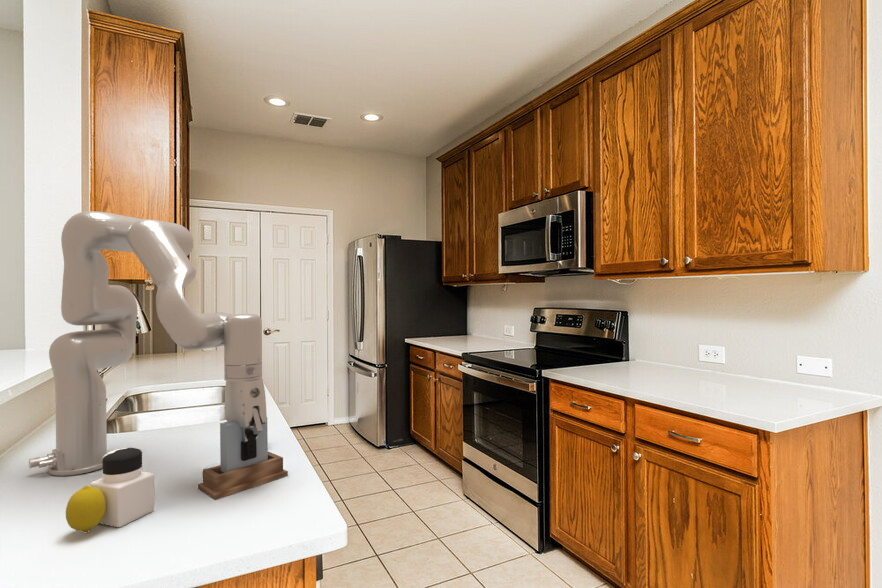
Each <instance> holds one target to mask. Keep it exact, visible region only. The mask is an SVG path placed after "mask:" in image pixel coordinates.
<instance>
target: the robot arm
mask: <svg viewBox="0 0 882 588" xmlns="http://www.w3.org/2000/svg"><path fill="white" fill-rule="evenodd" d="M60 241H61V242H60V243H61V250H62V255H63V257H62V258H63V275H62V288H61V289H62V290H61V301H60V302H61V304H60V305H61V306H60V309H61V317H62V319H63V320H64V321H65V322H66V323H67V324H70V325H72V326H82V327H83V326H97V325H98V326H99V325H101V326H100V328H101V329H90V330H81V331H72V332H68V333H64V334H62V335H60V336H58V337H57V338H56V339H54V341H52V343H50V346H49V348H48V349H49V350H48V356H49V362H50V366H51V370H52V374H53V379H54V381H53V382H54V392H55V393H54V395H55V396H54V397H55V401H54V402H55V448H54V449H52V450H51V453H48V454H46V456H42V457H40V456H39V457H34V458H29V460H28V467H29V469H31V468H36V467H38V468H39V469H40V468H45V467H47V468H46V470H47V474H49V475H52V476H60V477H61V476H62V477H63V476H64V477H65V476H76V475H81V474H86V473H91V472H94V471H97V470H102V469H103V459H102V458H103V457H104V455H106V454H107V453H108V450H107V449H108V448H107V447H108V445H107V444H108V443H107V442H108V441H107V438H108V437H107V435H108V434H107V432H108V431H107V389H106V384H105V382H104V380H103V379H102V377H101V376H100V374H99V372H98V370H102V369H106V368H112V367H113V368H114V367H118V366H121V365H123V364H126V363H127V362H128V361H129V360H130V359H131V357H132V356H133V352H134V350H135V344H136V331H137V322H138V321H137V320H138V319H137V318H138V305H137V300H136V297H135V295H134V293H133V292H132V291H131V290H130V289H128V288H127V287H124V286H122V285H118V284H117V285H112V284H109V274H110V268H109V264H108V261H107V259H106V257H105V256H104V254H103V253H102V250H103V251H105V250H107V251H115V252H124V253H125V252H127V253H134V254H135V256H136V257H137V259H138V261H139V262H140V263H141V265H142V266H143V268H144V269H145V271H146V272H147V273H148V276H150V278H151V279H152V281H153V283H154V284H155V285H156V287H157V292H156V296H155V307H156V315H157V318H158V320H159V322H160V324H161V325H162V326H163V329H165V331H166V333H167V334H168V336H169V337H170V338H171V340H172V341H173V342H174V343H175V344H176V345H177V346H178V347H179V348H182V349H183V350H187V351H193V352H194V351H200V350H206V349H213V348H220V347H223V355H224V356H223V358H224V361H223V362H224V363H223V364H224V365H223V369H224V371H223V372H224V373H223V374H224V376H223V377H224V381H225V386H224V387H225V389H224V391H225V392H224V418H225V420H226V422H228V421H233V422H236V423H238V426H240V427H242V436H243V442H241V460H242V461H246V460H249V459H253V458H256V456H257V444H256V439H258V434H259V433H260V432H262V430H263V429H262V425H261V424H265V423H266V421H267V422H268V416H267V415H268V414H267V399H266V390H265V385H264V384H265V383H264V380H263V323H262V318H261V317H260V315H258V314H255V313H228V312H205V313H204V312H202V313H195V311H194V310H193V308H192V307H191V305H190V304H189V302H188V301H187V299H186V298H185V295H184V290H183V289H184V288H186V287H188V285H190V284H191V283H192V282H193V281H194V279H195V278H196V276H197V269H196V268H195V265H193V263H192V262H191V260H190V259H189V257H188V256H189V255H190V254H191V252H192V251H193V248H194V239H193V236H192V234H191V232H190V231H189V230H188V228H187V227H185V226H183V225H181V224H179V223H175V222H169V221H163V220H158V219H151V218H150V219H149V218H148V219H145V218H138V217H133V216H128V215H127V216H126V215H121V214H117V213H112V212H105V211H93V210H92V211H89V210H87V211H81V212H78V213H76V214H74V215H73V216H71V217H70V218H69V219H68V220H67V221H66V222H65V224H64V226H63V228H62V231H61V239H60ZM249 423H252V424H253V425H249ZM248 429H252V430H249V432H248V433H247V430H248Z"/></svg>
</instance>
